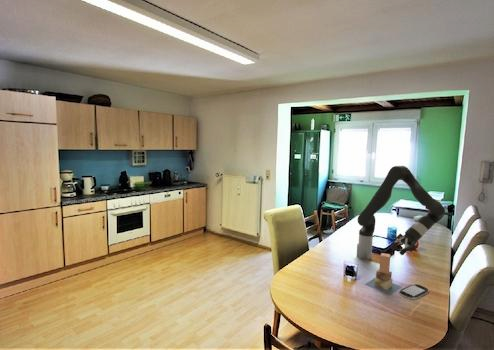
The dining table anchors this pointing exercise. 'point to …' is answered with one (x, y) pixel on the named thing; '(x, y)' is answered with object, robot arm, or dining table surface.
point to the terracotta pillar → (384, 263)
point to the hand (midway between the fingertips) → (395, 251)
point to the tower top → (383, 276)
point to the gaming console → (413, 291)
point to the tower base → (383, 283)
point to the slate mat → (388, 291)
